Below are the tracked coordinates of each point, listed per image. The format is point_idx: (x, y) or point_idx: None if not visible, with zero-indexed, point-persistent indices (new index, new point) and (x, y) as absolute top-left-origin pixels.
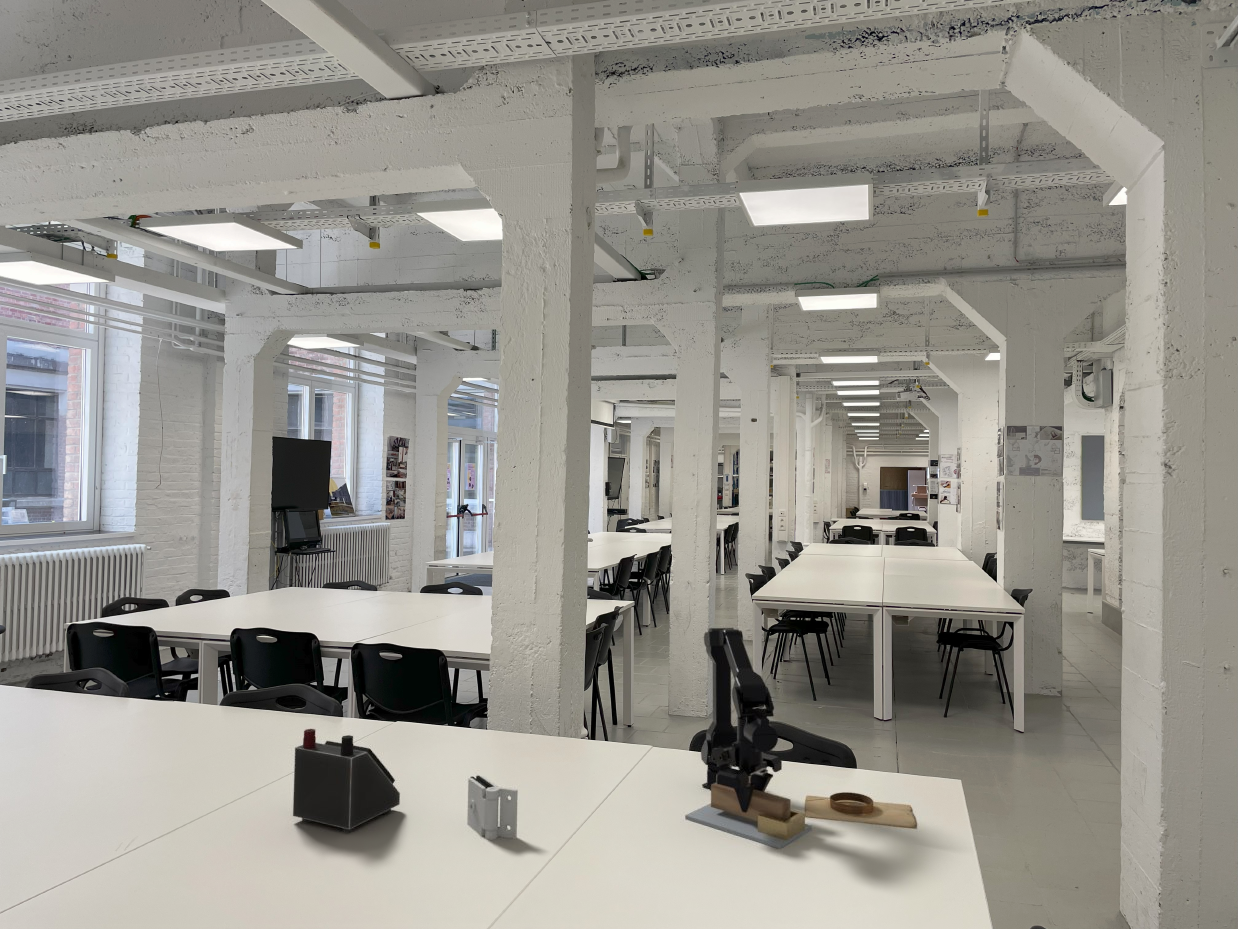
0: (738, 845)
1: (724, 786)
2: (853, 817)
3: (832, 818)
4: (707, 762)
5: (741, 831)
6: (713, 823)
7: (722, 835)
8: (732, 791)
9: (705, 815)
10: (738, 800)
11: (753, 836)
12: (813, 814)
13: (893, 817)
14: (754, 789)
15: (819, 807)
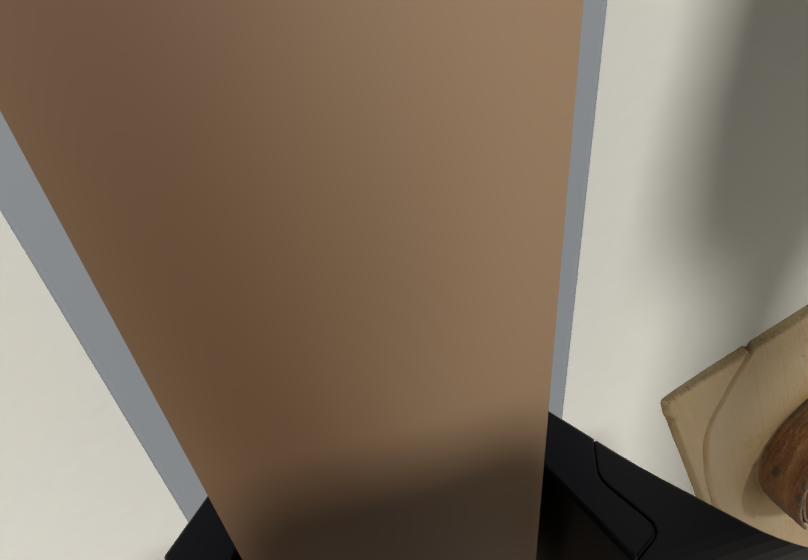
0: (45, 501)
1: (212, 179)
2: (735, 492)
3: (694, 466)
4: None
5: (165, 437)
6: (19, 213)
7: (27, 357)
8: (196, 461)
9: None
10: (197, 512)
11: (185, 511)
12: (701, 410)
13: (783, 535)
14: (551, 526)
15: (795, 372)
